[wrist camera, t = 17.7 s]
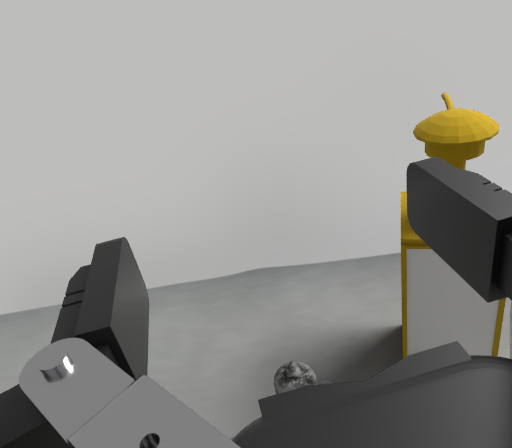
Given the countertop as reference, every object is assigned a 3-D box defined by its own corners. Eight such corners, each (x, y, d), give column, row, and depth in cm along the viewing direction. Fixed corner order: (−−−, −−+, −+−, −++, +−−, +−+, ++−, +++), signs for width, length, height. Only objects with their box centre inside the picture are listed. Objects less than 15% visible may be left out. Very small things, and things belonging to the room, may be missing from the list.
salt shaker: (306, 420, 37) (285, 316, 31) (367, 461, 33) (356, 351, 27) (260, 475, 34) (227, 371, 28) (321, 528, 30) (298, 420, 24)
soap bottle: (472, 292, 47) (493, 70, 35) (492, 391, 37) (530, 126, 25) (402, 289, 49) (399, 80, 38) (403, 382, 39) (399, 135, 27)
